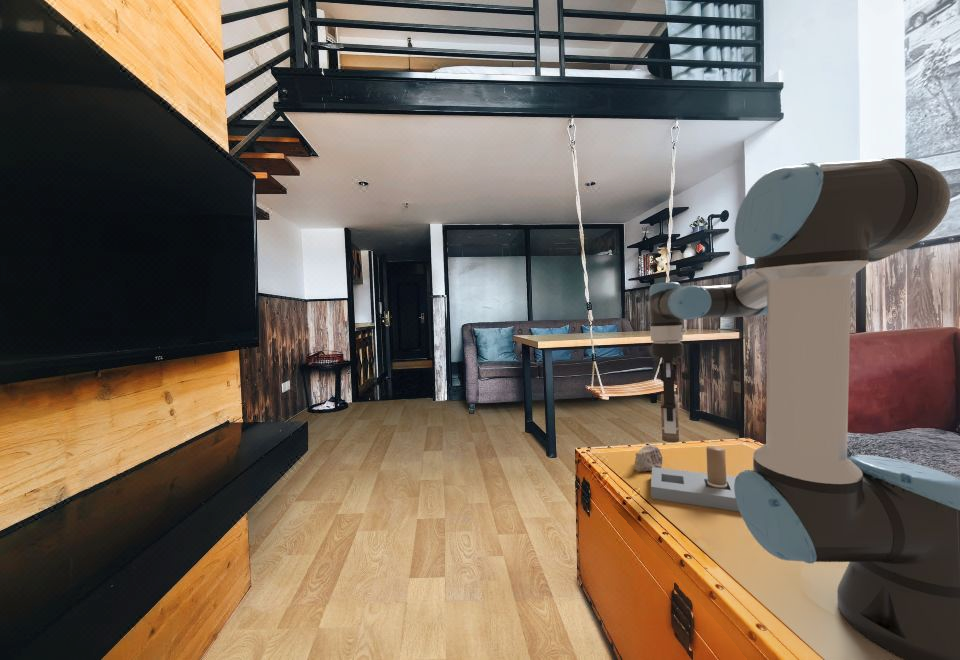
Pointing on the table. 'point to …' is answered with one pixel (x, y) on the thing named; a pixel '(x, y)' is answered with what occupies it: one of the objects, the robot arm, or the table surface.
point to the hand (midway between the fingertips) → (670, 430)
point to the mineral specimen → (648, 459)
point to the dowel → (675, 437)
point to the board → (697, 484)
